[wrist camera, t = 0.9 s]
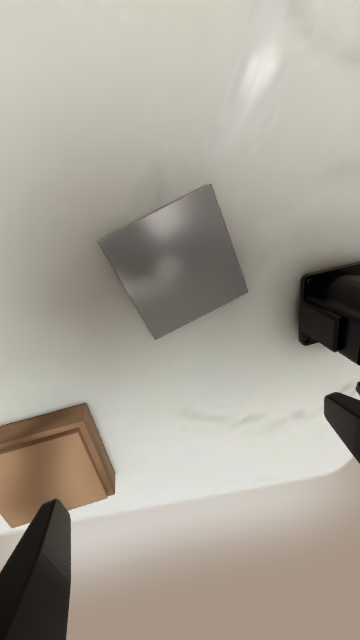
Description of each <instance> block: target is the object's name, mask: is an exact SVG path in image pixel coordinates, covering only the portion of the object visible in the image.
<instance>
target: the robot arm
mask: <svg viewBox="0 0 360 640" xmlns="http://www.w3.org/2000/svg"><path fill="white" fill-rule="evenodd" d="M308 279H310V280H309V282H308V283H307V281H308ZM299 329H300V334H299V341H300V343H301V344H303V345H305V346H307V345H311V344H314V343H318V342H319V343H321V344H322V345H324V346H325V347H327V348H328V349H330V350H331V351H333V352H339V353H341V354H342V355H344V356H345V357H347V358H348V359H350V360H351V361H353V362H354V363H356V364H357V365H360V262H358V263H353V264H349V265H345V266H341V267H336V268H332V269H328V270H324V271H319V272H315V273H311V274H307V275H305V276H304V277H303V278H302V280H301V302H300V317H299ZM305 339H306V341H305ZM356 391H357V392H358V393H359V395H360V382H358V383H357V386H356ZM324 415H325V417H326V419H327V421H328V422H329V424H330V425H331V426H332V428H333V429H334V430H335V432H336V433H337V434H338V436H339V437H340V438H341V440H342V441H343V442H344V444H345V445H346V446H347V448H348V449H349V450H350V452H351V453H352V454H353V456H354V457H355V458H356V459H357V461H358V462H359V463H360V400H357V399H355V398H352V397H349V396H347V395H344V394H341V393H338V392H334V393H331V394H329V395H326V396H325V398H324ZM70 585H71V519H70V514H69V512H68V511H67V509H66V508H65V507H64V505H63V504H62V502H61V501H60V500H59V499H57V498H55V499H52V500H50V501H47V502H45V503H43V504H42V505H41V507H40V508H39V510H38V512H37V513H36V515H35V516H34V518H33V520H32V521H31V523H30V525H29V526H28V528H27V530H26V531H25V533H24V534H23V536H22V538H21V539H20V541H19V543H18V544H17V546H16V548H15V549H14V551H13V552H12V554H11V556H10V557H9V559H8V561H7V562H6V564H5V566H4V567H3V569H2V570H1V572H0V640H66V633H67V622H68V610H69V598H70Z"/></svg>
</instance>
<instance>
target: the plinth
mask: <svg viewBox="0 0 360 640" xmlns="http://www.w3.org/2000/svg"><path fill="white" fill-rule="evenodd" d="M114 494H115V472H114V470H113V467H112V465H111V462H110V460H109V457H108V455H107V453H106V450H105V448H104V445H103V443H102V440H101V438H100V436H99V433H98V431H97V428H96V426H95V423H94V421H93V418H92V416H91V414H90V411H89V409H88V406H87V404H86V403H85V404H82V405H78V406H74V407H71V408H67V409H63V410H60V411H56V412H52V413H48V414H45V415H41V416H37V417H34V418H30V419H26V420H23V421H19V422H15V423H11V424H8V425H4V426H0V514H1V515H2V517H3V518H4V519H5V520H6V522H7V523H8V524H9V526H10V527H11V528H15V527H18V526H21V525H24V524H27V523H30V522H31V521H32V520H33V518H34V516H35V515H36V513H37V512H38V510H39V508H40V507H41V505H42V504H43V503H45V502H47V501H50V500H52V499H55V498H57V499H59V500H60V501H61V502H62V504H63V505H64V507H65V508H66V509H67V511H68V510H71V509H75V508H78V507H81V506H84V505H87V504H90V503H93V502H97V501H100V500H103V499H106V498H108V496H110V495H114Z"/></svg>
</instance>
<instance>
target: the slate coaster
mask: <svg viewBox="0 0 360 640" xmlns="http://www.w3.org/2000/svg"><path fill="white" fill-rule="evenodd" d="M98 243H99V245H100V247H101V248H102V250H103V252H104V254H105V255H106V257H107V259H108V260H109V262H110V264H111V266H112V267H113V269H114V271H115V272H116V274H117V276H118V278H119V279H120V281H121V283H122V284H123V286H124V288H125V290H126V291H127V293H128V295H129V296H130V298H131V300H132V302H133V303H134V305H135V307H136V308H137V310H138V312H139V314H140V315H141V317H142V319H143V320H144V322H145V324H146V326H147V327H148V329H149V331H150V332H151V334H152V336H153V338H154V339H155V340H156V339H158V338H160V337H162V336H164V335H166V334H168V333H170V332H172V331H174V330H176V329H177V328H179V327H181V326H183V325H185V324H187V323H189V322H191V321H193V320H195V319H197V318H199V317H201V316H203V315H205V314H207V313H209V312H211V311H213V310H214V309H216V308H218V307H220V306H222V305H224V304H226V303H228V302H230V301H232V300H234V299H236V298H238V297H240V296H242V295H244V294H246V293H248V289H247V286H246V283H245V280H244V278H243V275H242V272H241V269H240V266H239V263H238V260H237V257H236V254H235V251H234V249H233V246H232V243H231V240H230V237H229V234H228V231H227V228H226V225H225V222H224V220H223V217H222V214H221V211H220V208H219V205H218V202H217V199H216V196H215V193H214V190H213V188H212V185H211V184H209V185H206V186H204V187H202V188H200V189H198V190H196V191H194V192H192V193H190V194H188V195H186V196H184V197H183V198H181V199H179V200H177V201H175V202H173V203H171V204H169V205H167V206H165V207H163V208H161V209H159V210H157V211H155V212H153V213H151V214H149V215H147V216H145V217H143V218H141V219H139V220H137V221H135V222H133V223H131V224H129V225H127V226H125V227H123V228H121V229H119V230H117V231H116V232H114V233H112V234H110V235H108V236H106V237H104V238H102V239H100V240H98Z"/></svg>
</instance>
